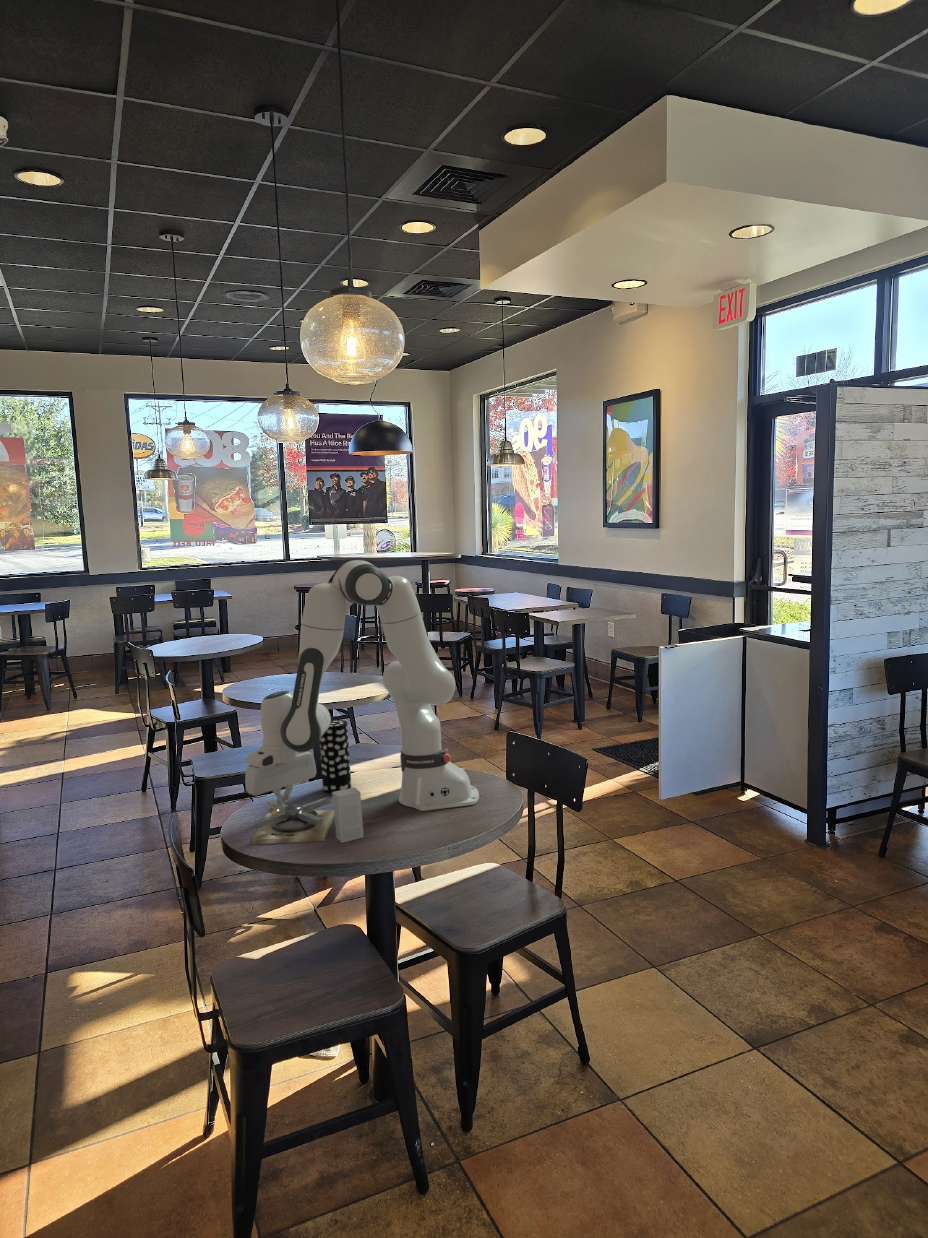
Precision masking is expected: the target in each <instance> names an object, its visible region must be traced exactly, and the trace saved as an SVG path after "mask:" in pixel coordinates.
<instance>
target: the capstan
mask: <svg viewBox="0 0 928 1238" xmlns="http://www.w3.org/2000/svg"><path fill="white" fill-rule="evenodd" d="M330 804H331V797H329V796H328V797H327V796H326V797H323V798H320V799H317V800H314V801H311V802H308V803H305V804H303V805H302V804H299V803H297V804H290V805H288V804H285V803H280V802H277V800H274V799H270V800H267V807H268V808H271V809H273V810H271V812H270V813H271V815H272V816H270V817H267V818H265V817H264V818H262V819H260V820H255V821H254V827H255V828H256V829H257V830H258V829H259V828H262V827H265V826H268V825H271V828H272V829H274V830H276V831H280V832H296V831H301V830H305V829H308V828H311V827H313V826H314V825H317V826H318V825H320V824H322V818H320V817H318V813H317V812H316V811H317V810H315V809H319V808H322V807H323V806H326V805H330Z"/></svg>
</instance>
